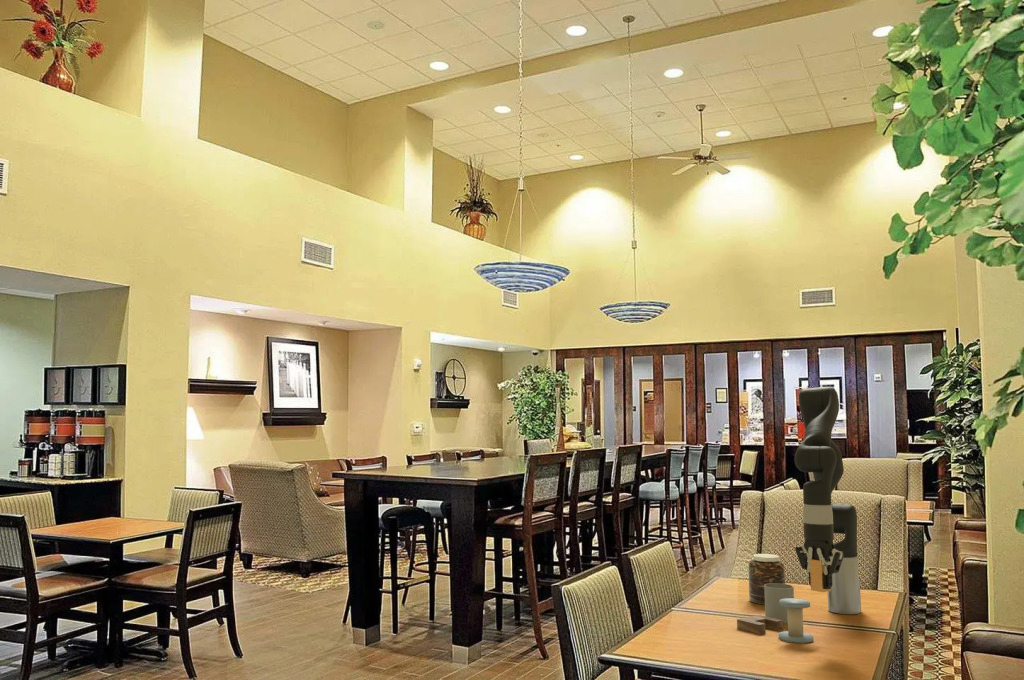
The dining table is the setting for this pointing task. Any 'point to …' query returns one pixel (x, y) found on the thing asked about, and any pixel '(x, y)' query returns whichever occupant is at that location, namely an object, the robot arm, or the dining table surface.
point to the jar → (764, 575)
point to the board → (759, 624)
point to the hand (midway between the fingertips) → (820, 587)
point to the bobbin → (795, 621)
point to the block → (817, 576)
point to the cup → (777, 600)
